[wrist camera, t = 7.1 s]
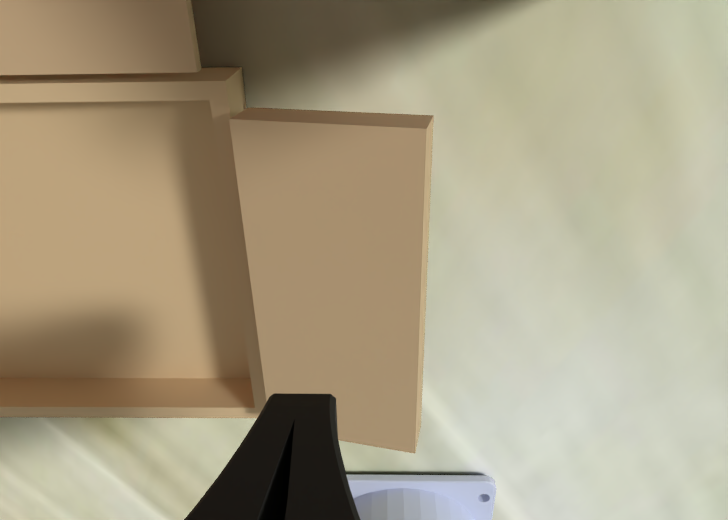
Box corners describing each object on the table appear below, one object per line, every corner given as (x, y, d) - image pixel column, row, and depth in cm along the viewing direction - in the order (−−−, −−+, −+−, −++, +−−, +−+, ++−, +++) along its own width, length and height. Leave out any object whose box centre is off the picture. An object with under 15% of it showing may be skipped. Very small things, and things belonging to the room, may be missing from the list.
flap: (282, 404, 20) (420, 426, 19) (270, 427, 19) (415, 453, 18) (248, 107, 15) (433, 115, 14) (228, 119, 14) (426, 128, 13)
